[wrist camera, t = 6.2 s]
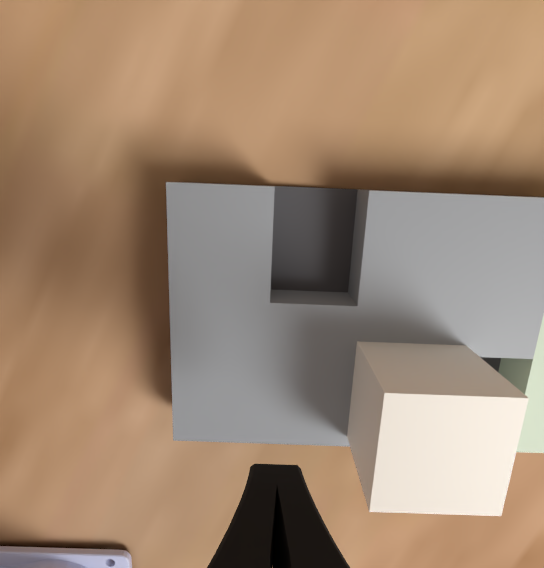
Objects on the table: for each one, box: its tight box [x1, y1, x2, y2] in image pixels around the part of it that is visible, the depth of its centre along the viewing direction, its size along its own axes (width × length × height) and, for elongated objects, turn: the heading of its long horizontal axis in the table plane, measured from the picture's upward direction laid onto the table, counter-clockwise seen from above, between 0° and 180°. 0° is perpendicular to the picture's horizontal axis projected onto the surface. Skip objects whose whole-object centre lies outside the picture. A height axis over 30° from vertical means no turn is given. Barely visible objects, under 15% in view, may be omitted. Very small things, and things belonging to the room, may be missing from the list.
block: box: [347, 341, 529, 516], centre depth 14 cm, size 4×4×4 cm
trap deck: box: [166, 182, 544, 453], centre depth 16 cm, size 20×11×4 cm, turn 88°
